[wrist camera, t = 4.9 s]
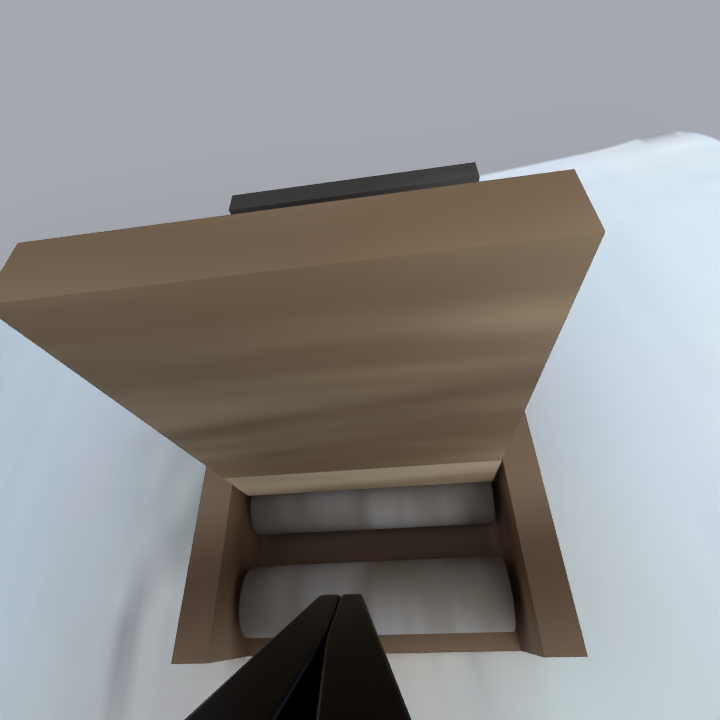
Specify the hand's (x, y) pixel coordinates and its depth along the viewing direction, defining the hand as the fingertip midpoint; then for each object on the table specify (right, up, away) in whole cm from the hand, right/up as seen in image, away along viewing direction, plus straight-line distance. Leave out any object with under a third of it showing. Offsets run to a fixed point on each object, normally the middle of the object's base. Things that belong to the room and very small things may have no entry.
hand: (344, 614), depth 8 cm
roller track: (+1, +3, +10) cm, 11 cm away
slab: (0, +3, +7) cm, 8 cm away
